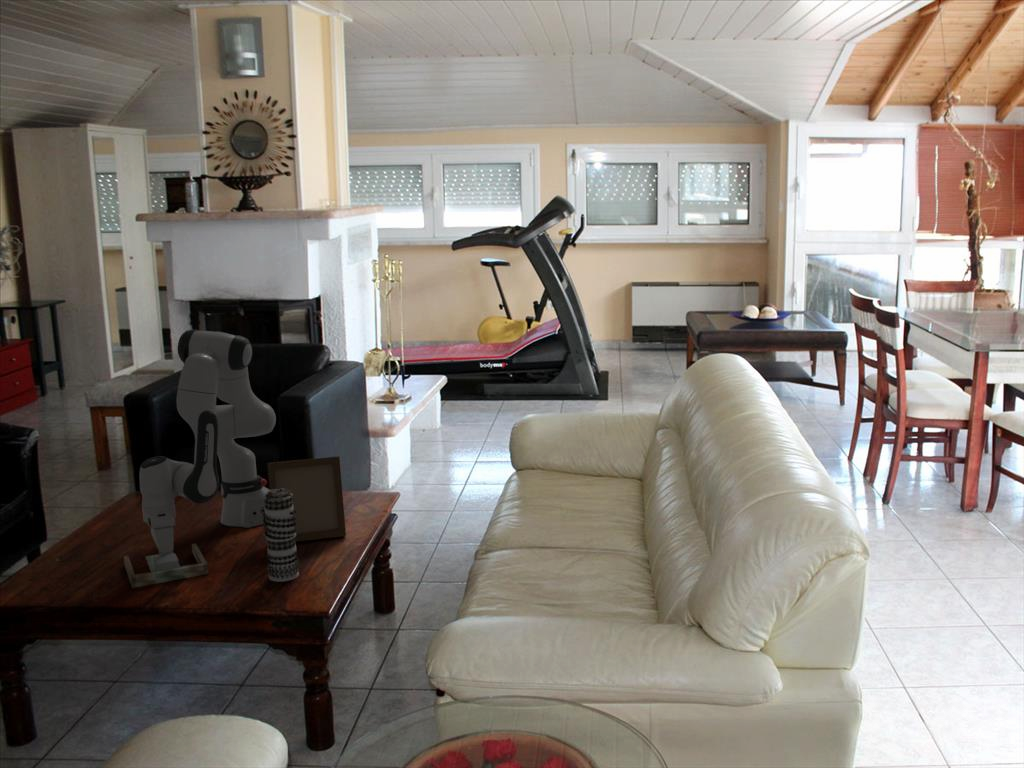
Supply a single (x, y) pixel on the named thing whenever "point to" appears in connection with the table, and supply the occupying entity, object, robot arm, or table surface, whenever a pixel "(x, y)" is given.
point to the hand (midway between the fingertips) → (163, 558)
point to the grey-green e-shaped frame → (166, 575)
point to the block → (166, 562)
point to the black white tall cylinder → (280, 535)
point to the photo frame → (312, 495)
